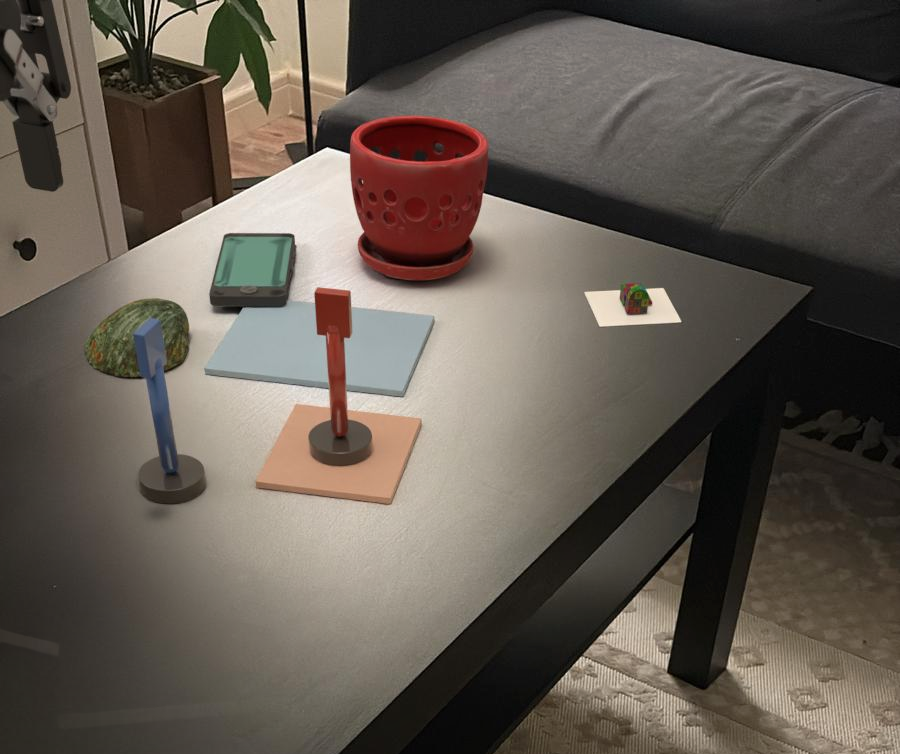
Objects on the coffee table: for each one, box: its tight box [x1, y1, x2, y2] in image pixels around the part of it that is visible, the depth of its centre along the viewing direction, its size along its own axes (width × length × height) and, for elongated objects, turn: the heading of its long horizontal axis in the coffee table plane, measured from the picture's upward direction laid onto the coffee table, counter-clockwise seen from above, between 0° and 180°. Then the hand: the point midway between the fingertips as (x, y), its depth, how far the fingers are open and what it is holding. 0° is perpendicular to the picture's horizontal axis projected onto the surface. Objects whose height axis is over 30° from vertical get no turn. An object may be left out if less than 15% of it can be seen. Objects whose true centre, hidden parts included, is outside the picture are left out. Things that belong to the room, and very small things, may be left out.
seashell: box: [84, 297, 190, 378], centre depth 115 cm, size 10×4×10 cm
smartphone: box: [208, 232, 297, 307], centre depth 126 cm, size 7×1×15 cm
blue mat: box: [203, 299, 435, 398], centre depth 117 cm, size 18×14×1 cm
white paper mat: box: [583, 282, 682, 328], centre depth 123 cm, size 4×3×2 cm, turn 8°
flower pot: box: [349, 115, 489, 281], centre depth 125 cm, size 13×13×12 cm
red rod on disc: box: [308, 286, 373, 466], centre depth 100 cm, size 5×5×13 cm
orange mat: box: [254, 403, 422, 505], centre depth 105 cm, size 11×12×1 cm
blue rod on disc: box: [133, 318, 207, 504], centre depth 97 cm, size 5×5×13 cm
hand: (7, 216), depth 74 cm, fingers open, 8 cm apart
